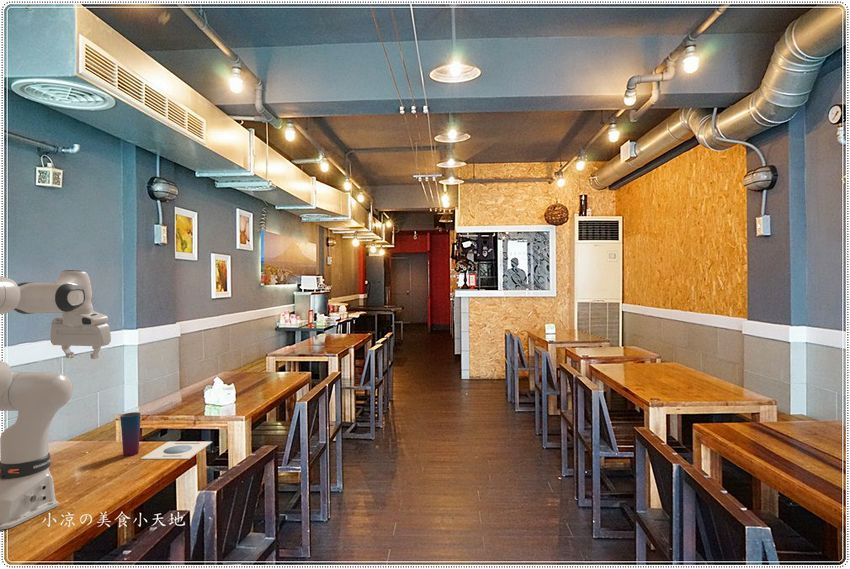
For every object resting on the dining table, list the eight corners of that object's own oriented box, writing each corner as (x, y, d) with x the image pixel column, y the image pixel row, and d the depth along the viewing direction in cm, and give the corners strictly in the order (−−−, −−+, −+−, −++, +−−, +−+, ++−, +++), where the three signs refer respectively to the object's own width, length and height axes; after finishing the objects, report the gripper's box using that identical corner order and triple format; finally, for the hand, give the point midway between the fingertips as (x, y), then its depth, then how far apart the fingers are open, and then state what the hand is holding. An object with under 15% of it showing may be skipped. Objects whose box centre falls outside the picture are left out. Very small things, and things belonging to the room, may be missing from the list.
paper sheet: (189, 459, 190) (189, 458, 190) (140, 459, 190) (140, 458, 190) (212, 442, 210) (212, 441, 210) (168, 442, 210) (168, 441, 210)
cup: (121, 452, 198) (121, 413, 198) (141, 450, 200) (141, 411, 200) (119, 458, 191) (119, 417, 191) (140, 455, 194) (140, 415, 194)
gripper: (43, 319, 172) (47, 359, 173) (97, 320, 168) (101, 361, 170) (59, 316, 178) (63, 355, 179) (112, 316, 175) (115, 356, 176)
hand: (82, 358), depth 175 cm, fingers open, 8 cm apart
